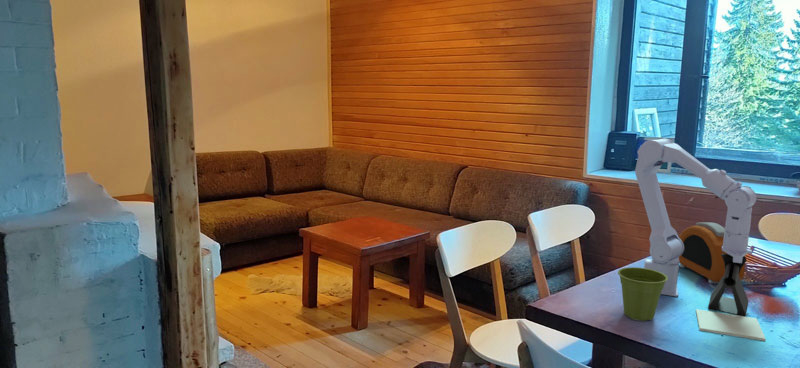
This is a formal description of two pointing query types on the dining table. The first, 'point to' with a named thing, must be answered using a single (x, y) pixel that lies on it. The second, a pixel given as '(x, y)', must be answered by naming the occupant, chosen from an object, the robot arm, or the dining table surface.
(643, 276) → the plant pot
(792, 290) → the dining table surface
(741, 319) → the mat
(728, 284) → the phone stand
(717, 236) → the orange tape measure
